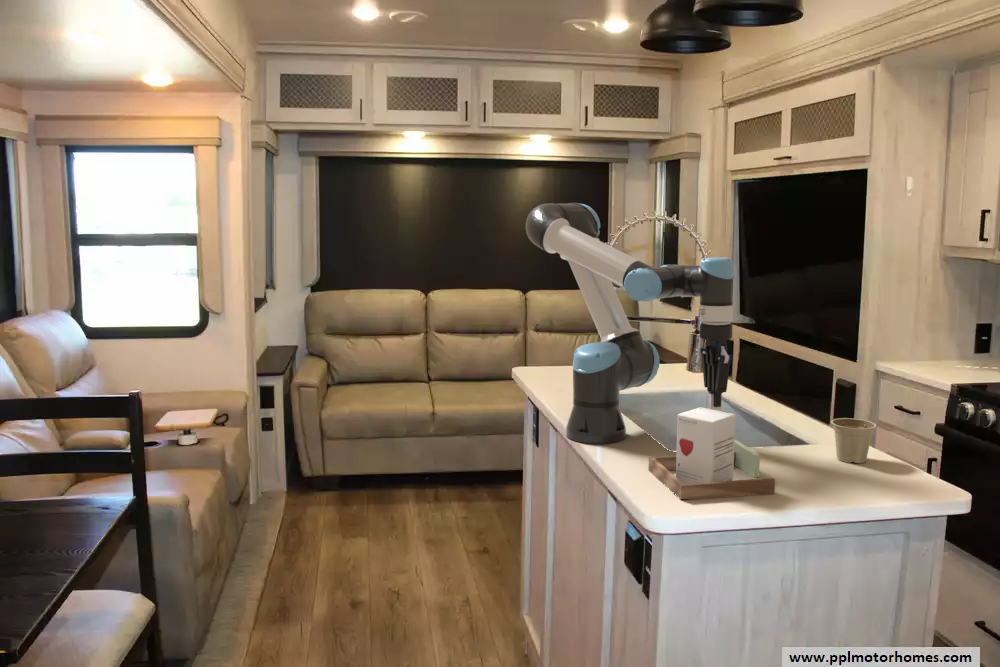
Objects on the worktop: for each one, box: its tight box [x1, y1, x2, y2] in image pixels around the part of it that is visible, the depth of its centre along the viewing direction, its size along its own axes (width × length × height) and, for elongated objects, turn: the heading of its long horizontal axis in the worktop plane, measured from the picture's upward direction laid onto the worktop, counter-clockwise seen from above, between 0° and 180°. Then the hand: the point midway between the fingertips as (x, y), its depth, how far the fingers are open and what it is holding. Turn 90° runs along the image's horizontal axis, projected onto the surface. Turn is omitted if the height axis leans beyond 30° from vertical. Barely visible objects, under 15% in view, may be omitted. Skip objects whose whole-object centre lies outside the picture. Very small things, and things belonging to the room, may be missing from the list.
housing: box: [648, 452, 776, 500], centre depth 170 cm, size 19×20×3 cm
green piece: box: [734, 439, 761, 479], centre depth 181 cm, size 18×3×5 cm, turn 9°
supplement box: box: [675, 406, 737, 484], centre depth 169 cm, size 9×9×15 cm
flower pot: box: [830, 417, 877, 464], centre depth 183 cm, size 9×9×9 cm
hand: (714, 418), depth 195 cm, fingers closed
